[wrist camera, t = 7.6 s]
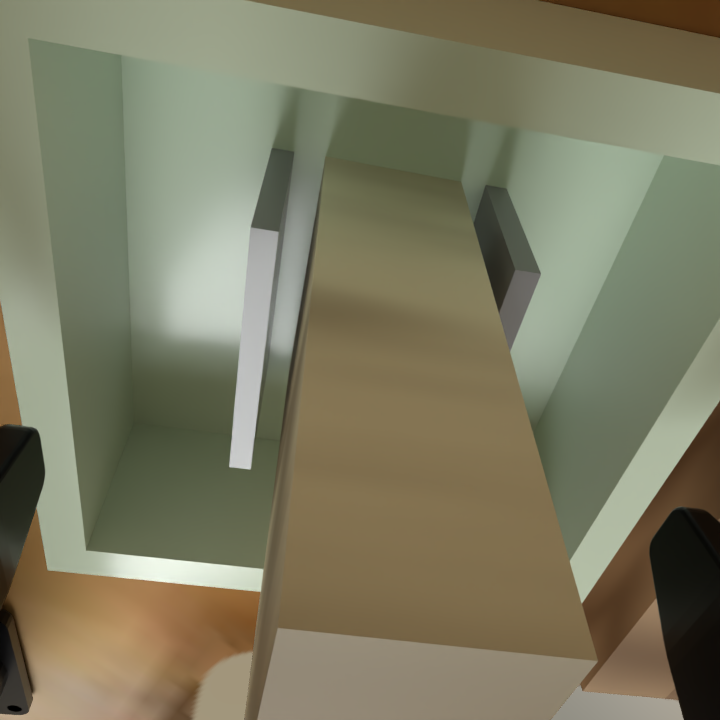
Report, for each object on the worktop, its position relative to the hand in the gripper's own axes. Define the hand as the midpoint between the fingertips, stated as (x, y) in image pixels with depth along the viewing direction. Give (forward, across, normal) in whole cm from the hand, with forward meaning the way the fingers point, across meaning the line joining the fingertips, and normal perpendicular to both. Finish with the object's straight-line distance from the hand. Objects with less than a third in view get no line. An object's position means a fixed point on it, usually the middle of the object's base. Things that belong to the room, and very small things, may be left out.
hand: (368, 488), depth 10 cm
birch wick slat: (+5, 0, 0) cm, 5 cm away
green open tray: (+6, 0, 0) cm, 6 cm away
